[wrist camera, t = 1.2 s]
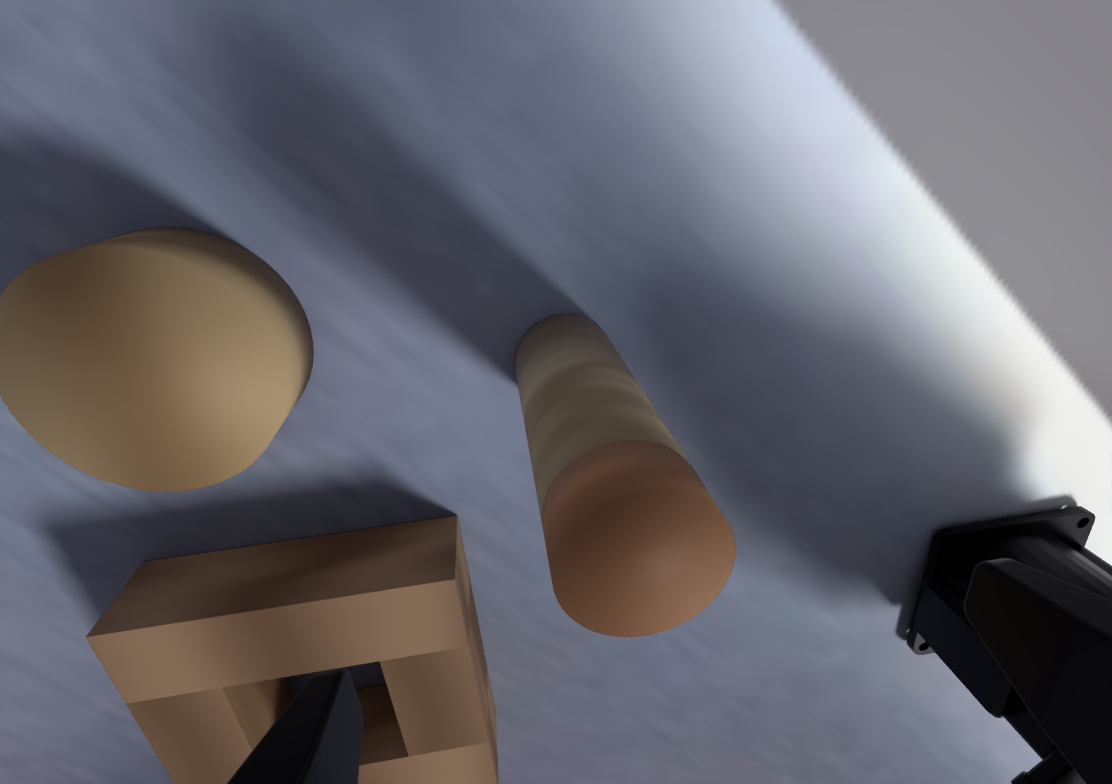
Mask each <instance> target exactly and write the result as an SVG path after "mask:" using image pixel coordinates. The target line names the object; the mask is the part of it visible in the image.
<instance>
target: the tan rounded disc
mask: <svg viewBox="0 0 1112 784" xmlns="http://www.w3.org/2000/svg"><path fill="white" fill-rule="evenodd" d="M313 354H314V352H313V339H312V334H311V329H310V325H309V322H308V320H307V317H306V314H305V312H304V310H303V308H302V306H301V304H300V302H299V300H298V298H297V297H296V295H295V294H294V292H293V291H292V290H291V288H290V287H289V285H288V284H287V283H286V282H285V281H284V280H283V278H282V277H281V276H280V275H279V274H278V273H277V272H276V271H275V270H274V269H273V268H272V267H270V266H269V265H268V264H267V263H266V262H265V261H263V260H262V259H261V258H259V257H258V256H257V255H255V254H254V253H252V252H251V251H249V250H247V249H246V248H244V247H242V246H240V245H239V244H237V243H234V242H232V241H230V240H228V239H226V238H223V237H220V236H217V235H214V234H211V233H208V232H204V231H200V230H195V229H190V228H180V227H156V228H150V229H144V230H139V231H135V232H132V233H128V234H125V235H122V236H118V237H115V238H112V239H108V240H105V241H101V242H98V243H95V244H91V245H88V246H84V247H81V248H78V249H74V250H71V251H68V252H64V253H61V254H58V255H55V256H52V257H49V258H46V259H44V260H42V261H40V262H38V263H36V264H34V265H32V266H30V267H29V268H28V269H26V270H25V271H24V272H22V273H21V274H19V275H18V276H17V277H16V278H15V279H14V280H13V281H12V282H11V283H10V284H9V285H8V286H7V287H6V288H5V290H4V291H3V293H2V294H1V296H0V396H1V398H2V399H3V401H4V403H5V404H6V406H7V407H8V409H9V410H10V412H11V414H12V415H13V416H14V417H15V418H16V420H17V421H18V422H19V423H20V425H21V426H22V427H23V428H24V429H25V430H26V431H27V432H28V433H29V434H30V435H31V436H32V437H33V438H34V439H35V440H36V441H37V442H38V443H39V444H41V445H42V446H43V447H44V448H46V449H47V450H48V451H49V452H51V453H52V454H54V455H55V456H57V457H58V458H60V459H61V460H63V461H64V462H66V463H67V464H69V465H71V466H73V467H75V468H77V469H79V470H81V471H82V472H84V473H87V474H89V475H91V476H94V477H96V478H99V479H101V480H104V481H107V482H110V483H114V484H117V485H120V486H125V487H129V488H134V489H140V490H148V491H164V492H175V491H187V490H193V489H199V488H204V487H208V486H211V485H214V484H217V483H220V482H222V481H225V480H227V479H229V478H231V477H233V476H235V475H237V474H238V473H240V472H241V471H243V470H244V469H246V468H247V467H248V466H250V465H251V464H252V463H253V462H254V461H255V460H257V459H258V457H259V456H260V455H261V454H262V453H263V452H264V451H265V449H266V448H267V447H268V445H269V444H270V442H271V440H272V439H273V437H274V436H275V434H276V433H277V431H278V430H279V428H280V427H281V425H282V424H283V422H284V421H285V419H286V418H287V416H288V415H289V413H290V412H291V410H292V408H293V407H294V405H295V404H296V402H297V401H298V399H299V398H300V396H301V394H302V393H303V391H304V390H305V388H306V385H307V383H308V380H309V378H310V374H311V370H312V366H313Z"/></svg>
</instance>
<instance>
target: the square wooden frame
mask: <svg viewBox="0 0 1112 784" xmlns="http://www.w3.org/2000/svg"><path fill="white" fill-rule="evenodd" d="M86 639H87V640H88V642H89V644H90V645H91V647H92V649H93V650H94V652H95V654H96V655H97V657H98V659H99V660H100V662H101V663H102V665H103V667H104V668H105V670H106V672H107V673H108V675H109V677H110V678H111V680H112V682H113V683H114V685H115V687H116V688H117V690H118V692H119V693H120V695H121V696H122V698H123V700H124V701H125V703H126V705H127V706H128V708H129V710H130V711H131V713H132V715H133V716H134V718H135V720H136V721H137V723H138V725H139V726H140V728H141V730H142V731H143V733H144V734H145V736H146V738H147V739H148V741H149V743H150V744H151V746H152V748H153V749H154V751H155V753H156V754H157V756H158V758H159V759H160V761H161V763H162V764H163V766H164V767H165V769H166V771H167V772H168V774H169V776H170V777H171V779H172V781H173V782H174V784H227V782H228V781H229V780H230V779H231V777H232V776H233V775H234V773H235V772H236V771H237V770H238V768H239V767H240V766H241V765H242V763H243V762H244V761H245V759H246V758H247V757H248V756H249V754H250V753H251V752H252V751H253V749H254V748H255V747H256V745H257V744H258V743H259V742H260V740H261V739H262V738H263V737H264V735H265V734H266V733H267V731H268V730H269V729H270V728H271V726H272V725H273V724H274V722H275V721H276V720H277V719H278V717H279V716H280V715H281V714H282V712H283V711H284V710H285V708H286V707H287V706H288V705H289V703H290V702H291V701H292V700H293V697H292V694H291V692H290V689H289V687H288V685H287V682H286V680H285V677H288V676H294V675H300V674H306V673H312V672H318V671H324V670H330V669H336V668H342V667H348V666H354V665H360V664H366V663H372V662H378V661H380V664H381V668H382V671H383V674H384V677H385V681H386V684H387V685H381V686H375V687H369V688H363V689H358V690H355V691H356V694H357V697H358V699H359V702H360V705H361V709H362V717H363V728H362V740H361V752H360V764H359V775H358V784H498V759H497V733H496V712H495V707H494V702H493V696H492V691H491V686H490V681H489V676H488V671H487V665H486V660H485V655H484V650H483V645H482V639H481V634H480V629H479V624H478V619H477V614H476V608H475V603H474V598H473V593H472V588H471V583H470V577H469V572H468V567H467V562H466V557H465V551H464V546H463V541H462V536H461V531H460V526H459V520H458V515H457V516H450V517H444V518H437V519H430V520H423V521H417V522H410V523H403V524H396V525H390V526H383V527H376V528H369V529H363V530H356V531H349V532H342V533H335V534H329V535H322V536H315V537H308V538H302V539H295V540H288V541H281V542H275V543H268V544H261V545H254V546H248V547H241V548H234V549H227V550H221V551H214V552H207V553H200V554H194V555H187V556H180V557H173V558H166V559H160V560H153V561H146V562H143V563H142V565H141V566H140V567H139V568H138V570H137V571H136V572H135V574H134V575H133V576H132V578H131V579H130V580H129V581H128V583H127V584H126V585H125V587H124V588H123V589H122V591H121V592H120V593H119V594H118V596H117V597H116V598H115V600H114V601H113V602H112V604H111V605H110V606H109V608H108V609H107V610H106V611H105V613H104V614H103V615H102V617H101V618H100V619H99V621H98V622H97V623H96V624H95V626H94V627H93V628H92V630H91V631H90V632H89V634H88V635H87V636H86Z"/></svg>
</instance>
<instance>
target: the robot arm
mask: <svg viewBox="0 0 1112 784" xmlns="http://www.w3.org/2000/svg"><path fill="white" fill-rule="evenodd" d="M1094 521H1095V515H1094V514H1093V513H1091V512H1090V511H1088V510H1086V509H1085V508H1083V507H1081V506H1077V507H1070V508H1064V509H1058V510H1052V511H1046V512H1039V513H1033V514H1027V515H1021V516H1014V517H1008V518H1002V519H996V520H990V521H983V522H977V523H971V524H965V525H959V526H952V527H947V528H943V529H941V530H940V531H938V532H937V533H936V534H935V535H934V537H933V539H932V543H931V547H930V551H929V555H928V559H927V563H926V567H925V571H924V575H923V579H922V583H921V587H920V591H919V595H918V599H917V603H916V607H915V611H914V615H913V619H912V623H911V627H910V631H909V635H908V639H907V645H908V646H909V647H910V648H911V649H912V651H913V652H914V653H915V654H917V655H924V654H929V653H936V654H937V655H938V656H939V657H940V658H941V660H942V661H943V662H944V663H945V664H946V665H947V666H948V667H949V669H950V670H951V671H952V672H953V673H954V674H955V675H956V676H957V678H958V679H959V680H960V681H961V682H962V683H963V684H964V685H965V687H966V688H967V689H968V690H969V691H970V692H971V693H972V694H973V696H974V697H975V698H976V699H977V700H978V701H979V702H980V704H981V705H982V706H983V707H984V708H985V709H986V710H987V711H988V712H989V713H990V714H992V715H993V716H994V717H997V718H1001V717H1004V718H1005V719H1006V720H1007V721H1008V722H1009V723H1010V724H1011V725H1012V726H1013V728H1014V729H1015V730H1016V731H1017V732H1018V733H1019V734H1020V735H1021V736H1022V737H1023V739H1024V740H1025V741H1026V742H1027V743H1028V744H1029V745H1030V746H1031V747H1032V749H1033V750H1034V751H1035V752H1036V753H1037V754H1038V755H1039V756H1040V757H1041V758H1042V761H1041V762H1040V763H1038V764H1037V765H1036V766H1035V767H1033V768H1032V769H1031V770H1030V771H1029V772H1024V771H1023V772H1021V773H1020V774H1019V775H1018V776H1016V777H1015V778H1014V779H1013V780H1012V781H1011V783H1012V784H1112V566H1111V565H1110V564H1108V563H1107V562H1105V561H1104V560H1102V559H1101V558H1099V557H1098V556H1096V555H1095V554H1093V553H1092V552H1090V551H1089V550H1088V549H1086V548H1085V547H1084V546H1085V544H1086V541H1087V539H1088V536H1089V534H1090V531H1091V529H1092V526H1093V524H1094ZM362 728H363V717H362V709H361V705H360V702H359V699H358V697H357V694H356V691H355V688H354V685H353V682H352V679H351V676H350V674H349V672H348V671H347V670H346V669H345V668H337V669H331V670H325V671H319V672H316V673H315V674H313V675H312V676H311V677H310V678H309V679H308V680H307V682H306V683H305V684H304V686H303V687H302V688H301V689H300V691H299V692H298V693H297V694H296V696H295V697H294V698H293V700H292V701H291V702H290V703H289V705H288V706H287V707H286V708H285V710H284V711H283V712H282V714H281V715H280V716H279V717H278V719H277V720H276V721H275V722H274V724H273V725H272V726H271V728H270V729H269V730H268V731H267V733H266V734H265V735H264V737H263V738H262V739H261V740H260V742H259V743H258V744H257V745H256V747H255V748H254V749H253V751H252V752H251V753H250V754H249V756H248V757H247V758H246V759H245V761H244V762H243V763H242V765H241V766H240V767H239V768H238V770H237V771H236V772H235V773H234V775H233V776H232V777H231V779H230V780H229V781H228V782H227V784H358V775H359V764H360V752H361V740H362Z"/></svg>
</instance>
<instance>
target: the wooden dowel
mask: <svg viewBox="0 0 1112 784" xmlns="http://www.w3.org/2000/svg"><path fill="white" fill-rule="evenodd" d="M515 371H516V377H517V383H518V389H519V394H520V400H521V406H522V412H523V417H524V423H525V429H526V435H527V440H528V446H529V452H530V458H531V463H532V469H533V475H534V481H535V486H536V492H537V498H538V504H539V509H540V515H541V521H542V527H543V532H544V538H545V544H546V550H547V555H548V561H549V567H550V573H551V578H552V584H553V589H554V593H555V595H556V598H557V601H558V602H559V604H560V606H561V607H562V609H563V610H564V611H565V612H566V613H567V615H568V616H569V617H571V618H572V619H573V620H574V621H575V622H577V623H578V624H580V625H582V626H583V627H585V628H587V629H590V630H592V631H594V632H598V633H601V634H605V635H610V636H618V637H637V636H645V635H650V634H655V633H659V632H662V631H665V630H668V629H671V628H673V627H676V626H678V625H680V624H682V623H684V622H686V621H687V620H689V619H691V618H692V617H694V616H695V615H697V614H698V613H700V612H701V611H702V610H703V609H704V608H706V607H707V606H708V605H709V604H710V603H711V602H712V601H713V600H714V599H715V598H716V596H717V595H718V594H719V593H720V591H721V590H722V589H723V587H724V585H725V584H726V582H727V580H728V578H729V576H730V574H731V571H732V568H733V564H734V559H735V540H734V535H733V532H732V529H731V527H730V525H729V523H728V521H727V520H726V518H725V516H724V515H723V513H722V512H721V510H720V509H719V507H718V506H717V504H716V503H715V501H714V500H713V498H712V497H711V495H710V493H709V492H708V490H707V489H706V487H705V486H704V484H703V483H702V481H701V480H700V478H699V477H698V475H697V473H696V472H695V470H694V469H693V467H692V466H691V464H690V463H689V461H688V460H687V458H686V457H685V455H684V454H683V452H682V450H681V449H680V447H679V446H678V444H677V443H676V441H675V440H674V438H673V437H672V435H671V434H670V432H669V431H668V429H667V427H666V426H665V424H664V423H663V421H662V420H661V418H660V417H659V415H658V414H657V412H656V411H655V409H654V407H653V406H652V404H651V403H650V401H649V400H648V398H647V397H646V395H645V394H644V392H643V391H642V389H641V388H640V386H639V384H638V383H637V381H636V380H635V378H634V377H633V375H632V374H631V372H630V371H629V369H628V368H627V366H626V365H625V363H624V361H623V360H622V358H621V357H620V355H619V354H618V352H617V351H616V349H615V348H614V346H613V345H612V343H611V341H610V340H609V338H608V337H607V335H606V334H605V332H604V331H603V330H602V329H601V328H600V327H599V326H598V325H597V324H596V323H594V322H593V321H591V320H589V319H587V318H585V317H582V316H578V315H573V314H560V315H555V316H551V317H548V318H546V319H543V320H541V321H540V322H538V323H536V324H535V325H534V326H533V327H531V328H530V329H529V330H528V331H527V332H526V333H525V335H524V336H523V338H522V339H521V341H520V343H519V345H518V348H517V350H516V355H515Z"/></svg>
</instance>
